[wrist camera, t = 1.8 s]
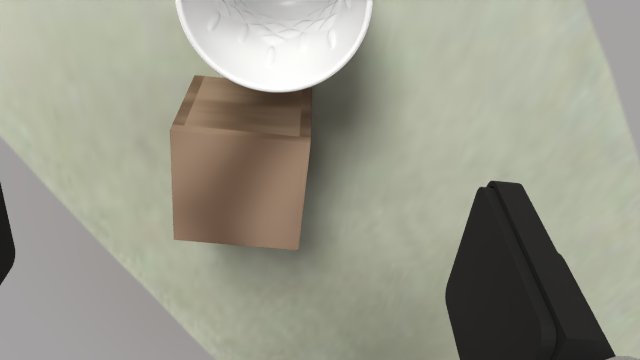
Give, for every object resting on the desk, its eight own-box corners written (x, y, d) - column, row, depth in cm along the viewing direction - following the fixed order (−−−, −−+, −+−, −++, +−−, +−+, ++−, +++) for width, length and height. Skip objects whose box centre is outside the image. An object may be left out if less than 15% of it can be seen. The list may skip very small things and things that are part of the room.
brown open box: (312, 87, 36) (310, 143, 30) (301, 183, 40) (298, 250, 34) (194, 75, 36) (170, 129, 30) (195, 174, 39) (173, 239, 34)
